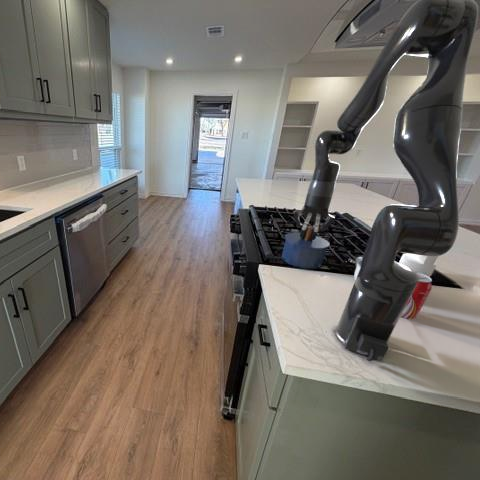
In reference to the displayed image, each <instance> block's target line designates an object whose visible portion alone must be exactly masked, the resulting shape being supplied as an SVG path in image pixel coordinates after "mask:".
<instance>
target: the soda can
mask: <svg viewBox="0 0 480 480" xmlns="http://www.w3.org/2000/svg"><path fill="white" fill-rule="evenodd" d="M414 272H415V271H414ZM415 273H416V274H417V275H418V277H419V281H418V284H417V286H416V288H415V289H414V291H413V293H412V295H411V297H410V299H409V301H408V303H407V305H406V307H405V309H404V311H403V313H402V315H401V316H400V318H403V319H410V320H411V319H415V318H416V317H417V316H418V315H419V313H420V311H421V310H422V309H423V306H424V305H425V303H426V301H427V299H428V297H429V295H430V293H431V291H432V288H433V285H432V282H433V279H432V278H431V277H428V276H426V275H424V274H422V273H419V272H415Z"/></svg>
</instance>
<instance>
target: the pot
mask: <svg viewBox="0 0 480 480" xmlns="http://www.w3.org/2000/svg"><path fill="white" fill-rule="evenodd" d="M327 250H328V248H326V249H309V248H304V247H300V246H297V245H294V244H292V243H290V242H288V241H287V240H286V239H285V240H284V245H283V249H282V253H281V259H282V261H284V262H285V263H287V264H288V265H290V266H293V267H296V268H300V269H303V270H304V269H305V270H319V268H321V267H322V265H323V262H324V259H325V256H326V254H327V253H326V252H327ZM283 258H284V259H285V260H284V259H283Z"/></svg>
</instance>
